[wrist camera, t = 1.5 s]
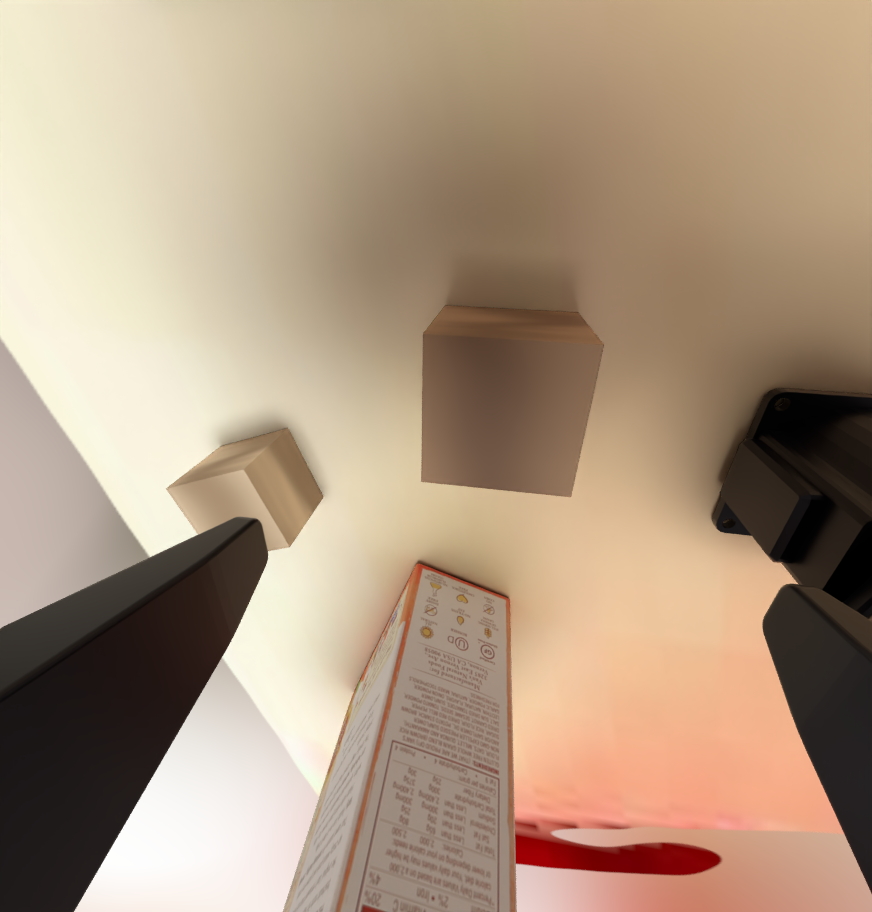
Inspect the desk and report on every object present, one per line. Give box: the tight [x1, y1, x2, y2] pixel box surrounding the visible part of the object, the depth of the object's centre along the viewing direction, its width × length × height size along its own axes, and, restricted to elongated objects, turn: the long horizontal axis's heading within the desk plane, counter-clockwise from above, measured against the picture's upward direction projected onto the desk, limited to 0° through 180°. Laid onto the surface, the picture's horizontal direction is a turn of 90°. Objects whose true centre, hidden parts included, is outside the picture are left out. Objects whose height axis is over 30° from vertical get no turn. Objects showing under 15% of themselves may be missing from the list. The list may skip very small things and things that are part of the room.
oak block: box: [166, 428, 323, 551], centre depth 20 cm, size 4×4×4 cm
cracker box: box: [283, 563, 517, 912], centre depth 17 cm, size 14×6×21 cm, turn 159°
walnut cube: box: [421, 305, 604, 497], centre depth 15 cm, size 5×5×5 cm
